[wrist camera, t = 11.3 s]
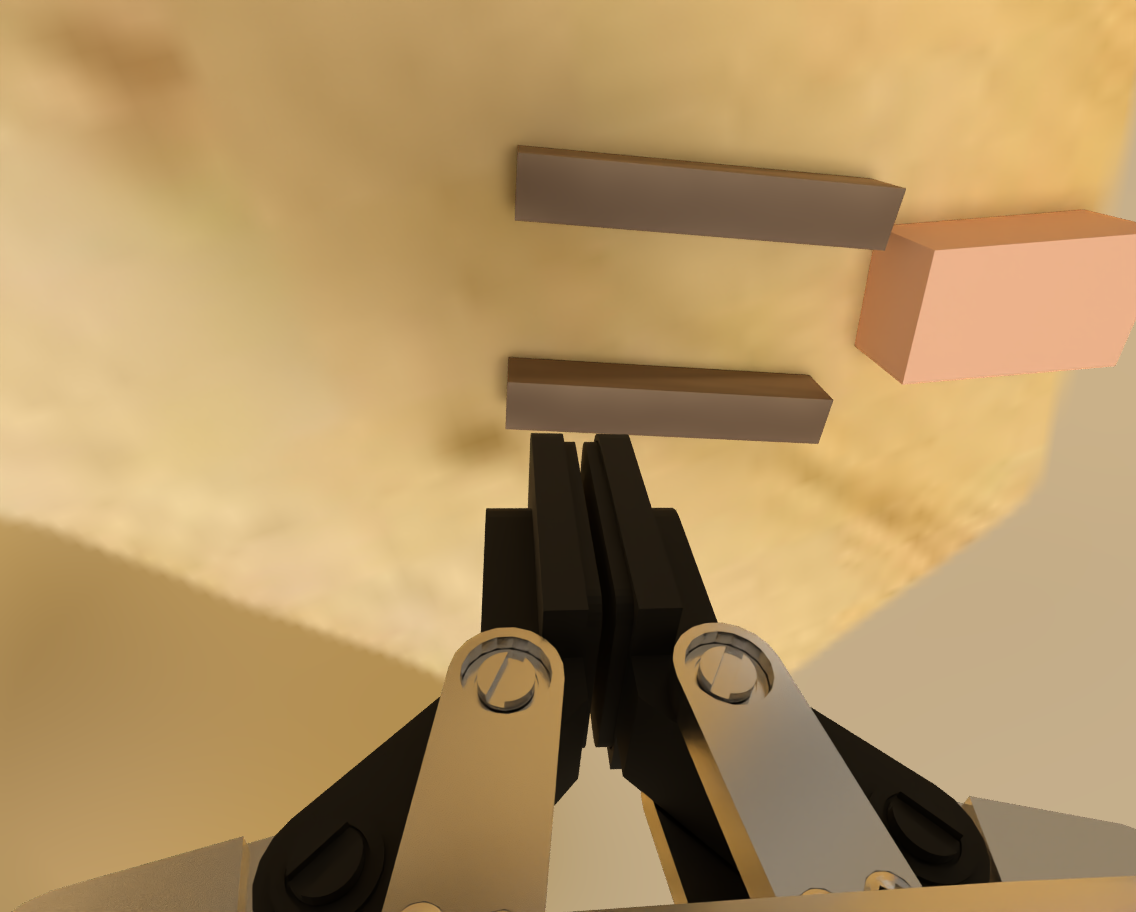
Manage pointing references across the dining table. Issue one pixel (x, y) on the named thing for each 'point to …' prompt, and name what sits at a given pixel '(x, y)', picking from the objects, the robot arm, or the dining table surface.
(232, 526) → the dining table surface
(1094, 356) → the block
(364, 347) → the dining table surface
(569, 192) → the chute
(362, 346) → the dining table surface
